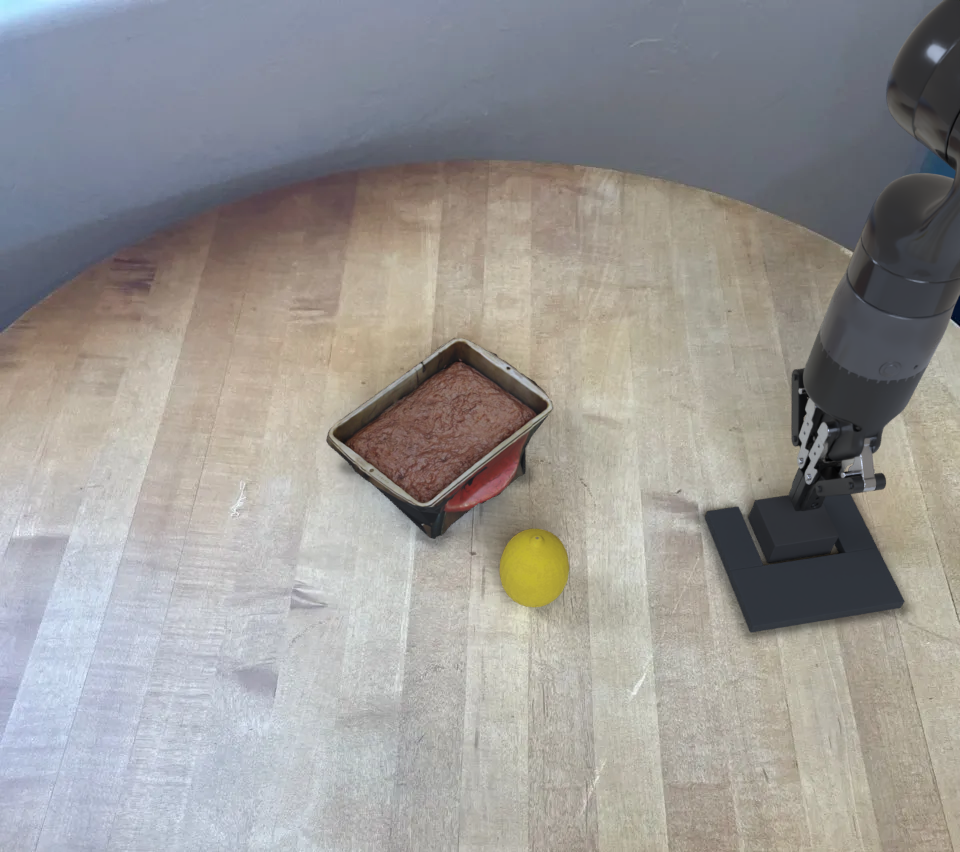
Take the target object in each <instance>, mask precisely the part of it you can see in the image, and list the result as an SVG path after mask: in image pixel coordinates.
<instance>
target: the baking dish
mask: <svg viewBox="0 0 960 852" xmlns="http://www.w3.org/2000/svg"><path fill="white" fill-rule="evenodd" d="M553 410H554V405H553V401H552V400H551V398H550V397H549V395H548V394H547V392H546V391H545V390H544V389H543V388H542V387H540V386H539V384H538V383H537V382H536V381H535V380H533V379H531V378H530V377H528V376H527V375H525V374H524V373H523V372H520V371H518V369H517V368H516V367H514V366H513V365H512V364H510V363H509V362H508V361H506V360H504V359H503V358H501V357H499V355H498V354H497V353H494V352H493V351H490V350H488V349H486V348H484V347H482V346H481V345H479V344H477V343H476V342H473V341H471V340H470V339H468V338H465V337H464V338H463V337H453V338H451V339H450V340H448V341H446V342H445V343H443V344H442V345H441V346H439V347H437V348H436V349H435V350H434V351H433V352H432V353H431V354H429V355H428V356H426V358H424V359H423V360H422V361H420V362H418V363H417V364H416V365H414V366H413V367H412V368H410V369H409V370H408V371H406V372H405V373H404V374H402V375H401V376H400V377H398V378H397V379H395V380H394V381H392V382H391V383H390V384H388V385H387V386H386V387H384V388H382V389H381V390H380V391H378V392H377V393H376V394H374V396H372V397H370V398H368V399H367V400H366V401H365V402H363V403H362V404H360V405H359V406H358V407H357V408H355V409H354V410H352V411H350V412H349V413H347V414H346V415H345V416H344V417H342V418H341V419H339V420H338V421H336V423H334V424H333V425H331V427H330V428H329V430H328V432H327V435H326V439H325V441H326V443H327V445H328V446H329V447H330V448H331V449H332V450H333V451H335V453H336V454H338V455H339V456H340V457H341V458H342V459H343V460H345V461H346V462H347V463H348V465H349V466H351V468H352V470H353V471H354V472H355V473H356V474H358V475H359V476H360V477H361V478H362V479H363V480H364V481H367V482H368V483H370V484H371V485H373V487H375V489H377V490H378V491H379V493H381V494H383V495H384V496H385V498H386V499H388V500H389V501H390V502H391V503H392V504H393V505H394V506H395V507H396V508H397V509H398V510H399V511H400V512H401V513H403V514H404V515H405V516H406V517H407V518H408V519H409V520H410V521H411V522H412V523H413V524H414V525H415V526H416V527H417V528H419V530H420V531H422V532H423V533H424V534H425V535H426V536H427V537H428V538H430V539H434V540H435V539H436V538H438V537H441V536H443V535H444V534H445V532H447V531H448V529H449V528H451V526H452V525H453V524H454V523H456V522H457V521H458V520H460V518H462V517H463V516H464V515H466V514H467V513H468V512H469V511H471V510H472V509H473V508H474V507H476V506H477V505H479V504H480V505H481V504H482V505H483V504H484V503H486V502H487V501H489V500H491V499H493V498H496V497H498V496H500V495H501V494H502V493H503V491H504V490H505V489H507V487H509V486H510V485H511V484H512V483H513V482H514V481H516V480H517V479H518V478H519V477H521V476H524V475H525V474H526V469H527V468H526V467H527V465H526V459H527V458H526V457H527V456H526V449H527V447H528V445H529V443H530V441H531V438H532V437H533V436H534V435H535V433H536V432H537V431H538V430H539V428H540V427H541V425H542V424H543V423H544V421H546V419H547V417H548V416H549V415H550V413H551V412H552V411H553Z"/></svg>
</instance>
